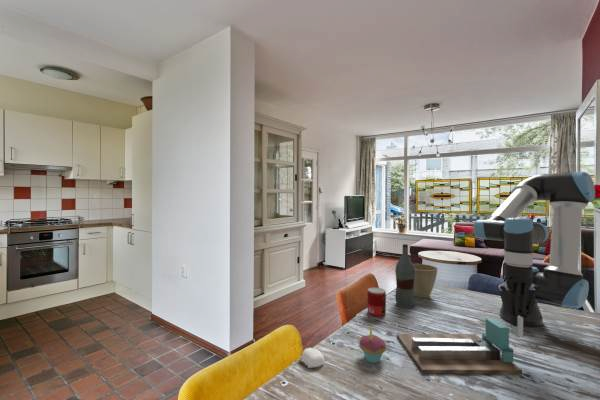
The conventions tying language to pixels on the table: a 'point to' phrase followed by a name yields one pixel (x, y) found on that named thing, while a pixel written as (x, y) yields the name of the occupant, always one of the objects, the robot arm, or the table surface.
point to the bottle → (405, 280)
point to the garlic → (312, 358)
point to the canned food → (377, 302)
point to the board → (456, 365)
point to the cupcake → (372, 347)
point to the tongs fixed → (461, 352)
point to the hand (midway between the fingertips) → (517, 335)
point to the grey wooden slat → (441, 342)
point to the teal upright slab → (499, 338)
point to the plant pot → (424, 280)
